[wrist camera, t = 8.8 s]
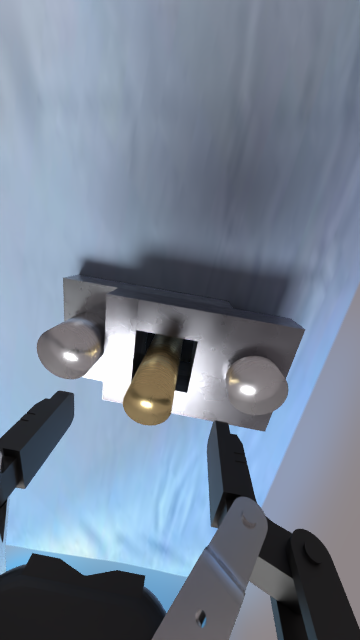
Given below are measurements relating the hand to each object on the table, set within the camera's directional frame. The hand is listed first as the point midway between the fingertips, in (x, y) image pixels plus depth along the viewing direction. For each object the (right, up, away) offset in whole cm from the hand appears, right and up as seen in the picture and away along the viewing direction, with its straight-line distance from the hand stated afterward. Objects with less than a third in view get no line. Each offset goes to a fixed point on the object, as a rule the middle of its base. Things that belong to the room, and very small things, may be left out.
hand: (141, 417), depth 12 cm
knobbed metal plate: (+1, +4, +10) cm, 11 cm away
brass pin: (+1, +4, +10) cm, 11 cm away
